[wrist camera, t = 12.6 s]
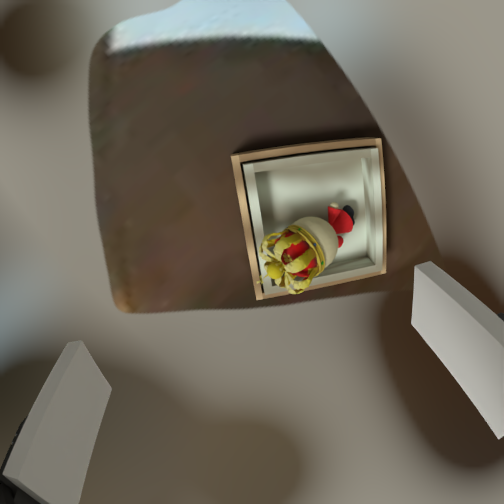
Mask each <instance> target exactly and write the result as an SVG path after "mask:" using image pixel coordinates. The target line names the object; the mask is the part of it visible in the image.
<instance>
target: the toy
mask: <svg viewBox="0 0 504 504" xmlns="http://www.w3.org/2000/svg"><path fill="white" fill-rule="evenodd" d="M338 208H339V205H338V204H337V203H336V202H332V203H331V204H330V206H328V222H326V221H325V220H323V219H321V218H318V217H304V218H301V219H299V220H297V221H296V222H294V223H293V224H292V225H290V226H288V227H287V228H285V229H284V230H283V231H282V232H279V233H271V234H268V235H266V236H265V237H264V238H263V240H262V243H261V246H260V247H259V256H260V257H262V259H263V260H265V261H266V262H265V264H264V269H265V270H266V272H267V275H266V276H265V277H267V276H269V277H270V278H272V279H275V283H276V284H277V285H278V286H279V287H280V288H285V289H287V290H288V292H289V293H292V294H299V293H301V292H303V291H304V289H305V288H307V287H309V285H310V284H311V281H312V279H313V278H314V277H315V276H317V275H319V273H321V272H322V271H323V270H324V268H326V267H327V266H328V265H329V264H330V263H332V261H333V260H334V258H335V257H336V254H337V251H338V248H340V247H341V246H342V244H343V242H344V240H343V238H342V237H341V236H338V235H337V234H341V233H349V232H351V231H352V229H353V225H354V224H355V221H354V218H353V216H354V210H353V208H352V207H351V206H349V205H345V206H344V207H343V209H342V210H341V209H338ZM277 235H281V236H280V237H278V238H277V239H272V240H268V239H269V238H270V237H271V236H277ZM274 245H275V247H274V249H273V251H274V253H275V256H274V255H273V254H272V253H271V252H270V251H269V250H268V249H267V248H269V247H271V246H274ZM263 250H264V251H266V253H267V254H268V255H270V256H271V257H272V258H270V257H268V256H267V255H265V254H263ZM282 262H283V263H282ZM284 272H285V275H284V276H283V274H284ZM282 276H283V277H282ZM296 276H299V277H304V279H303V280H302V281H300V282H299V281H295V280H294V279H295V277H296ZM265 277H264V278H265ZM281 277H282V278H281ZM259 278H260V279H261V280H260V281H257V284H258V283H259V282H261V281H262V280H263V279H264V278H263V279H262V275H260V276H259ZM262 283H264V282H263V281H262V282H261V284H262ZM290 283H291V284H292V285H293V286H294V288H295V289H296V290H292V289H291V287H290V286H289V285H290Z"/></svg>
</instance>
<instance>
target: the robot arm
mask: <svg viewBox="0 0 504 504" xmlns="http://www.w3.org/2000/svg"><path fill="white" fill-rule="evenodd" d="M411 324H412V325H413V326H414V328H415V329H416V330H417V331H418V332H419V334H420V335H421V336H422V337H423V338H424V340H425V341H426V342H427V343H428V345H429V346H430V347H431V348H432V350H433V351H434V352H435V353H436V355H437V356H438V357H439V358H440V360H441V361H442V362H443V364H444V365H445V366H446V367H447V369H448V370H449V371H450V372H451V374H452V375H453V376H454V378H455V379H456V380H457V382H458V383H459V384H460V386H461V387H462V388H463V390H464V391H465V392H466V394H467V395H468V396H469V398H470V399H471V401H472V402H473V403H474V405H475V406H476V408H477V409H478V410H479V412H480V413H481V415H482V416H483V417H484V419H485V420H486V422H487V423H488V425H489V426H490V428H491V429H492V430H493V432H494V433H495V435H496V436H497V438H498V439H499V438H501V437H502V436H504V314H503V313H499V314H497V315H496V314H495V313H493V312H492V311H491V310H490V309H489V308H488V307H487V306H485V305H484V304H483V303H482V302H481V301H480V300H478V299H477V298H476V297H475V296H474V295H473V294H471V293H470V292H469V291H468V290H466V289H465V288H464V287H463V286H462V285H460V284H459V283H458V282H457V281H455V280H454V279H453V278H452V277H450V276H449V275H448V274H446V273H445V272H444V271H443V270H441V269H440V268H439V267H437V266H436V265H435V264H434V263H432V262H431V261H429V262H426V263H423V264H420V265H416V266H415V276H414V296H413V310H412V322H411ZM111 390H112V388H111V387H110V385H109V384H108V382H107V381H106V379H105V378H104V376H103V375H102V373H101V371H100V370H99V368H98V367H97V365H96V363H95V362H94V360H93V359H92V357H91V355H90V354H89V352H88V350H87V348H86V347H85V345H84V343H83V342H82V341H76V342H69V343H68V344H67V345H66V347H65V349H64V350H63V352H62V354H61V356H60V357H59V359H58V361H57V362H56V364H55V366H54V368H53V369H52V372H51V373H50V375H49V377H48V379H47V380H46V382H45V384H44V386H43V388H42V390H41V391H40V394H39V396H38V397H37V399H36V401H35V403H34V405H33V407H32V409H31V411H30V413H29V415H28V416H27V417H26V418H25V419H24V420H23V422H22V423H21V424H20V426H19V428H18V430H17V432H16V436H15V437H14V439H13V441H12V445H11V446H10V448H9V450H8V452H7V454H6V457H5V459H4V462H3V464H2V466H1V469H0V504H79V501H80V496H81V492H82V488H83V484H84V480H85V476H86V472H87V469H88V465H89V461H90V458H91V454H92V450H93V447H94V443H95V440H96V437H97V434H98V430H99V427H100V424H101V420H102V417H103V414H104V411H105V408H106V405H107V402H108V398H109V396H110V393H111Z"/></svg>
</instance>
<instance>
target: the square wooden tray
mask: <svg viewBox="0 0 504 504" xmlns="http://www.w3.org/2000/svg"><path fill="white" fill-rule="evenodd" d="M231 160H232V166H233V171H234V177H235V183H236V188H237V194H238V200H239V205H240V211H241V217H242V222H243V228H244V233H245V239H246V245H247V250H248V256H249V261H250V267H251V273H252V278H253V284H254V289H255V294H256V299H257V300H260V299H266V298H271V297H276V296H281V295H286V294H291V293H289V292H288V290H287V289H285V288H280V287H279V286H278V285H277V284H276V283H275V279H272V278H270V277H269V276H267V277H265V276H266V275H267V272H266V270H265V269H264V264H265V262H266V261H265V260H263V259H262V257H260V256H259V247H260V246H261V243H262V240H263V238H264V237H265V236H266V235H268V234H271V233H279V232H282V231H283V230H284V229H285V228H287V227H288V226H290V225H292V224H293V223H294V222H296V221H297V220H299V219H301V218H304V217H318V218H321V219H323V220H325V221H326V222H328V206H330V204H331V203H332V202H336V203H337V204H338V205H339V208H338V209H341V210H342V209H343V207H344V206H345V205H349V206H351V207H352V208H353V210H354V216H353V218H354V221H355V224H354V225H353V229H352V231H351V232H349V233H341V234H337V235H338V236H341V237H342V238H343V240H344V242H343V244H342V246H341V247H340V248H338V251H337V254H336V257H335V258H334V260H333V261H332V263H330V264H329V265H328V266H327V267H326V268H324V270H323V271H322V272H321V273H319V275H317V276H315V277H314V278H313V279H312V281H311V284H310V285H309V287H307V288H305V289H304V291H306V290H311V289H316V288H321V287H326V286H330V285H335V284H339V283H344V282H349V281H353V280H358V279H362V278H366V277H371V276H375V275H379V274H384V273H386V199H385V180H384V165H383V153H382V142H381V138H370V137H365V138H352V139H340V140H330V141H320V142H311V143H303V144H295V145H287V146H280V147H273V148H266V149H260V150H253V151H247V152H241V153H235V154H231ZM280 236H281V235H277V236H271V237H270V238H269V239H268V240H272V239H277V238H278V237H280ZM274 247H275V245H274V246H271V247H269V248H267V249H268V250H269V251H270V252H271V253H272V254H273V255H274V256H275V253H274V251H273V249H274ZM263 254H265V255H267V256H268V257H270V258H272V257H271V256H270V255H268V254H267V253H266V251H264V250H263ZM282 263H283V262H282ZM260 275H262V279H263V278H264V277H265V278H264V279H263V280H262V281H263V282H264V283H262V284H261V282H262V281H261V282H259V283H258V284H257V281H260V280H261V279H260V278H259V276H260ZM284 275H285V272H284V274H283V276H284ZM283 276H282V277H283ZM282 277H281V278H282ZM303 279H304V277H299V276H296V277H295V279H294V280H295V281H299V282H300V281H302V280H303ZM289 286H290V287H291V289H292V290H296V289H295V288H294V286H293V285H292V284H291V283H290V285H289Z"/></svg>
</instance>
